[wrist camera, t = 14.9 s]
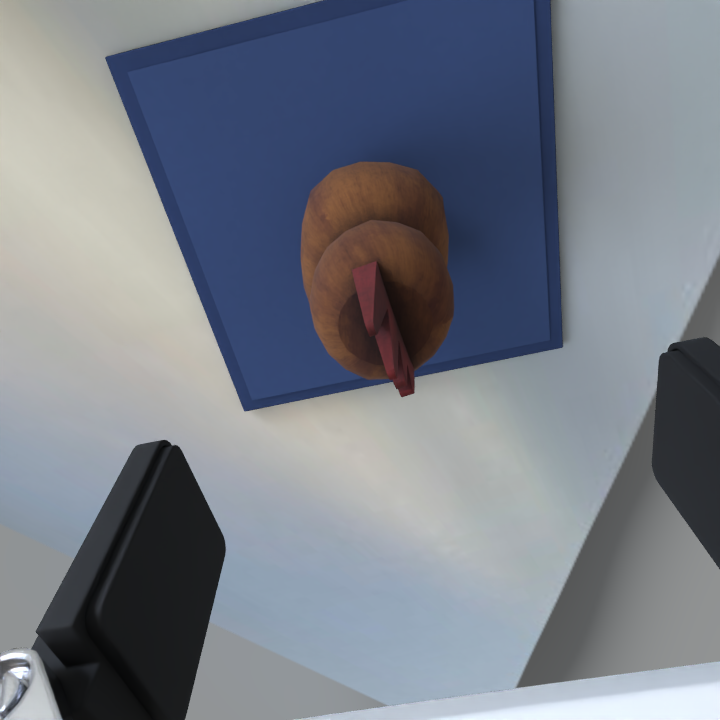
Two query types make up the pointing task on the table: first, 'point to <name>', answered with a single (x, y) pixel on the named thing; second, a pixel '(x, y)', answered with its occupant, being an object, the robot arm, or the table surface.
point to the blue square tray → (348, 146)
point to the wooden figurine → (378, 269)
